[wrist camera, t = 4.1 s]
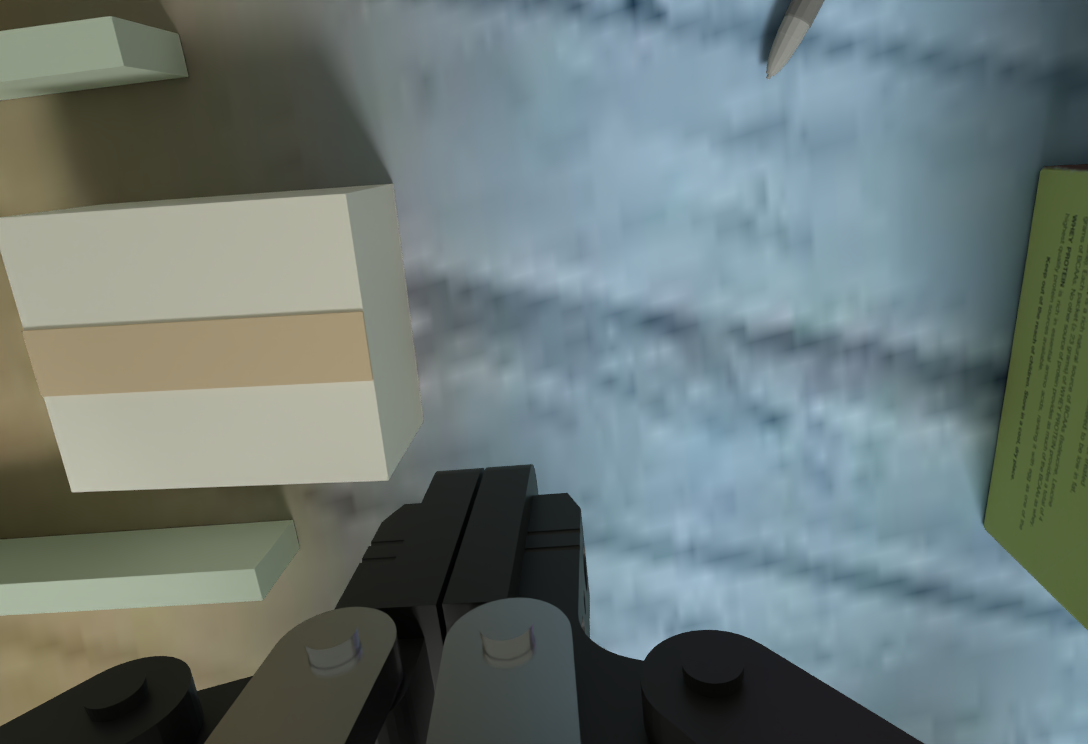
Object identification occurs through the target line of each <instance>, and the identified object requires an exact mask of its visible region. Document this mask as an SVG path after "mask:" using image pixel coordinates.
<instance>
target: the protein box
mask: <svg viewBox="0 0 1088 744" xmlns="http://www.w3.org/2000/svg"><path fill="white" fill-rule="evenodd" d="M984 528H985V530H986V531H987V532H988V533H989V534H990V535H991V536H992V537H993V538H994V539H995V540H996V541H997V542H998V543H999V544H1000V545H1001V546H1002V547H1003V548H1004V549H1005V550H1006V551H1007V552H1008V553H1009V554H1010V555H1011V556H1012V557H1013V558H1014V559H1015V560H1016V561H1018V562H1019V563H1020V564H1021V565H1022V566H1023V567H1024V568H1025V569H1026V570H1027V571H1028V572H1029V573H1030V574H1031V575H1032V576H1033V577H1034V578H1035V579H1036V580H1037V581H1038V582H1039V583H1040V584H1041V585H1042V586H1043V587H1044V588H1045V589H1046V590H1047V591H1048V592H1049V593H1050V594H1051V595H1052V596H1053V597H1054V598H1055V599H1056V600H1057V601H1058V602H1059V603H1060V604H1061V605H1062V606H1063V607H1064V608H1065V609H1066V610H1067V611H1068V612H1069V613H1070V614H1071V615H1072V616H1073V617H1074V618H1075V619H1077V620H1078V621H1079V622H1080V623H1081V624H1082V625H1083V626H1084V627H1085V628H1086V629H1087V630H1088V164H1079V165H1058V166H1045V167H1043V168H1042V170H1041V171H1040V176H1039V182H1038V189H1037V195H1036V201H1035V207H1034V213H1033V220H1032V226H1031V232H1030V239H1029V246H1028V253H1027V259H1026V265H1025V271H1024V278H1023V284H1022V290H1021V296H1020V302H1019V308H1018V314H1017V320H1016V327H1015V333H1014V339H1013V346H1012V352H1011V359H1010V365H1009V372H1008V378H1007V385H1006V391H1005V397H1004V403H1003V409H1002V415H1001V421H1000V427H999V433H998V440H997V447H996V452H995V459H994V465H993V471H992V477H991V484H990V490H989V496H988V503H987V509H986V515H985V521H984Z"/></svg>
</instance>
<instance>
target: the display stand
mask: <svg viewBox="0 0 1088 744" xmlns="http://www.w3.org/2000/svg"><path fill="white" fill-rule="evenodd" d="M182 77H189V76H188V72H187V67H186V63H185V59H184V55H183V50H182V46H181V42H180V38H179V34H177V33H174V32H170V31H166V30H162V29H158V28H155V27H151V26H147V25H143V24H140V23H136V22H132V21H128V20H124V19H121V18H117V17H113V16H107V17H100V18H92V19H85V20H78V21H70V22H63V23H56V24H48V25H41V26H34V27H26V28H19V29H12V30H4V31H0V100H8V99H16V98H24V97H32V96H40V95H48V94H55V93H63V92H71V91H79V90H87V89H95V88H103V87H111V86H119V85H127V84H135V83H142V82H150V81H158V80H166V79H174V78H182ZM299 549H300V547H299V543H298V539H297V534H296V530H295V526H294V522H293V520H284V521H269V522H254V523H239V524H224V525H209V526H195V527H180V528H165V529H150V530H135V531H120V532H105V533H90V534H76V535H61V536H46V537H31V538H16V539H1V540H0V615H18V614H36V613H53V612H71V611H88V610H106V609H123V608H141V607H158V606H176V605H194V604H211V603H229V602H246V601H263V599H264V598H265V597H266V595H267V594H268V592H269V591H270V590H271V588H272V587H273V585H274V584H275V583H276V581H277V580H278V578H279V577H280V576H281V574H282V573H283V571H284V570H285V569H286V567H287V566H288V564H289V563H290V562H291V560H292V559H293V557H294V556H295V555H296V553H297V552H298V550H299Z"/></svg>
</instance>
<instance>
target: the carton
mask: <svg viewBox="0 0 1088 744" xmlns="http://www.w3.org/2000/svg"><path fill="white" fill-rule="evenodd" d="M0 251H1V254H2V258H3V261H4V265H5V268H6V271H7V275H8V278H9V282H10V285H11V288H12V292H13V295H14V298H15V302H16V305H17V309H18V312H19V315H20V319H21V322H22V325H23V329H24V330H23V331H22V333H23V337H24V340H25V344H26V347H27V350H28V354H29V357H30V360H31V364H32V367H33V371H34V374H35V377H36V381H37V384H38V387H39V391H40V394H41V397H44V400H45V403H46V406H47V410H48V413H49V417H50V420H51V423H52V427H53V430H54V434H55V437H56V440H57V444H58V447H59V450H60V454H61V457H62V461H63V464H64V467H65V471H66V474H67V477H68V481H69V484H70V488H71V491H72V492H94V491H121V490H147V489H174V488H201V487H228V486H255V485H282V484H309V483H336V482H362V481H389V479H390V477H391V475H392V474H393V472H394V470H395V469H396V467H397V465H398V464H399V462H400V460H401V459H402V457H403V455H404V454H405V452H406V450H407V449H408V447H409V445H410V444H411V442H412V440H413V439H414V437H415V435H416V434H417V432H418V430H419V429H420V427H421V425H422V424H423V422H424V418H423V410H422V402H421V395H420V387H419V379H418V371H417V364H416V356H415V348H414V340H413V333H412V325H411V317H410V309H409V302H408V294H407V286H406V278H405V271H404V263H403V255H402V247H401V240H400V232H399V224H398V216H397V209H396V201H395V193H394V185H393V184H380V185H366V186H352V187H338V188H324V189H310V190H295V191H281V192H267V193H253V194H239V195H225V196H211V197H197V198H183V199H169V200H154V201H140V202H126V203H112V204H100V205H93V206H85V207H77V208H69V209H61V210H54V211H46V212H38V213H30V214H22V215H14V216H7V217H0Z"/></svg>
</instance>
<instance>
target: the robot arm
mask: <svg viewBox="0 0 1088 744" xmlns="http://www.w3.org/2000/svg"><path fill="white" fill-rule="evenodd" d="M589 619H590V594H589V585H588V575H587V565H586V556H585V546H584V536H583V526H582V517H581V509H580V507H579V506H578V505H577V504H576V503H575V501H574V500H573V499H572V498H571V497H570V496H569V494H568V493H560V494H545V495H538V488H537V480H536V474H535V469H534V466H533V464H530V465H516V466H502V467H488V468H486V469H485V470H484V468H477V469H463V470H449V471H437V472H436V473H435V475H434V477H433V479H432V481H431V483H430V486H429V488H428V490H427V492H426V494H425V496H424V499H423V501H422V503H417V504H404V505H403V506H402V507H400V508H399V509H398V510H397V511H395V512H394V513H393V514H392V515H390V516H389V517H388V518H387V519H385V520H384V521H383V522H382V523H381V525H380V527H379V529H378V530H377V532H376V534H375V536H374V538H373V540H372V541H371V546H369V547H368V549H367V551H366V552H365V554H364V556H363V558H362V563H359V565H358V567H357V569H356V571H355V573H354V574H353V576H352V578H351V580H350V582H349V584H348V585H347V587H346V589H345V591H344V593H343V595H342V596H341V598H340V600H339V602H338V604H337V606H336V608H335V609H334V610H332V611H328V612H325V613H322V614H319V615H316V616H314V617H312V618H310V619H308V620H306V621H304V622H302V623H301V624H299V625H297V626H296V627H294V628H293V629H292V630H290V631H289V632H288V633H287V634H286V635H284V636H283V637H282V638H281V639H280V641H279V642H278V643H277V644H276V645H275V647H274V648H273V649H272V651H271V652H270V653H269V655H268V656H267V658H266V659H265V660H264V662H263V663H262V664H261V666H260V667H259V669H258V670H257V671H256V673H255V674H254V675H253V676H251V677H247V678H244V679H240V680H236V681H233V682H229V683H225V684H222V685H218V686H214V687H211V688H207V689H203V690H199V691H197V690H196V687H195V684H194V680H193V677H192V674H191V670H190V668H189V666H188V665H187V664H186V663H185V662H183V661H182V660H180V659H177V658H174V657H167V656H154V657H146V658H141V659H136V660H132V661H129V662H126V663H123V664H120V665H117V666H115V667H112V668H110V669H108V670H106V671H104V672H102V673H100V674H97V675H96V676H94V677H92V678H90V679H88V680H86V681H84V682H82V683H81V684H79V685H77V686H75V687H73V688H71V689H69V690H67V691H66V692H64V693H62V694H60V695H58V696H56V697H54V698H53V699H51V700H49V701H47V702H45V703H43V704H41V705H39V706H38V707H36V708H34V709H32V710H30V711H28V712H26V713H25V714H23V715H21V716H19V717H17V718H15V719H13V720H11V721H10V722H8V723H6V724H4V725H2V726H0V744H924V743H922V742H921V741H919V740H917V739H916V738H914V737H912V736H911V735H909V734H907V733H906V732H904V731H903V730H901V729H899V728H898V727H896V726H894V725H893V724H891V723H889V722H888V721H886V720H885V719H883V718H881V717H880V716H878V715H876V714H875V713H873V712H871V711H870V710H868V709H866V708H865V707H863V706H862V705H860V704H858V703H857V702H855V701H853V700H852V699H850V698H848V697H847V696H845V695H844V694H842V693H840V692H839V691H837V690H835V689H834V688H832V687H830V686H829V685H827V684H825V683H824V682H822V681H821V680H819V679H817V678H816V677H814V676H812V675H811V674H809V673H807V672H806V671H804V670H803V669H801V668H799V667H798V666H796V665H794V664H793V663H791V662H789V661H788V660H786V659H785V658H783V657H781V656H780V655H778V654H776V653H775V652H773V651H771V650H770V649H768V648H766V647H765V646H763V645H762V644H760V643H758V642H756V641H754V640H752V639H750V638H747V637H745V636H742V635H739V634H735V633H731V632H726V631H718V630H698V631H690V632H685V633H681V634H678V635H675V636H672V637H670V638H668V639H666V640H664V641H662V642H661V643H660V644H658V645H657V646H655V647H654V648H653V649H652V650H651V651H650V653H649V654H648V655H647V657H646V658H645V660H644V661H642V660H637V659H632V658H628V657H624V656H620V655H617V654H615V653H612V652H609V651H607V650H605V649H604V648H602V647H600V646H598V645H597V644H596V643H594V642H593V641H592V640H591V639H590V622H589Z"/></svg>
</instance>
